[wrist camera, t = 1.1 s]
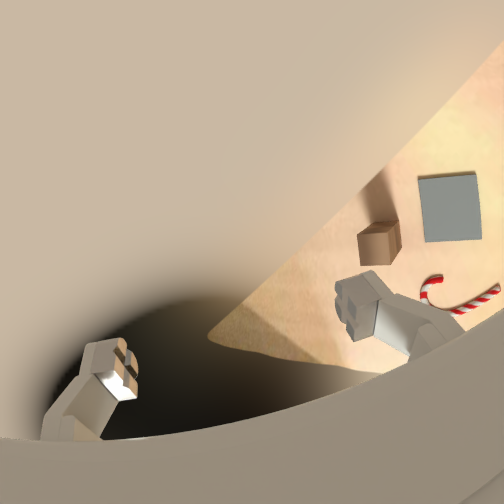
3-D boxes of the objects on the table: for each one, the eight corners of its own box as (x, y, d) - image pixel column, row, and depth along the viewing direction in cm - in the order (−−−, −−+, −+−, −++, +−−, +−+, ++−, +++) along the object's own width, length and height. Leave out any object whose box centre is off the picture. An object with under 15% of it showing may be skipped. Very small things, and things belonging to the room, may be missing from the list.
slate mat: (475, 174, 36) (476, 174, 36) (481, 238, 38) (481, 239, 38) (418, 179, 42) (418, 179, 42) (425, 241, 44) (425, 242, 44)
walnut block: (399, 220, 46) (387, 232, 38) (401, 247, 47) (390, 265, 39) (373, 222, 49) (356, 234, 41) (376, 248, 50) (360, 265, 42)
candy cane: (502, 308, 37) (423, 323, 46) (501, 305, 38) (424, 319, 47) (498, 263, 36) (416, 281, 46) (497, 261, 37) (417, 279, 47)
